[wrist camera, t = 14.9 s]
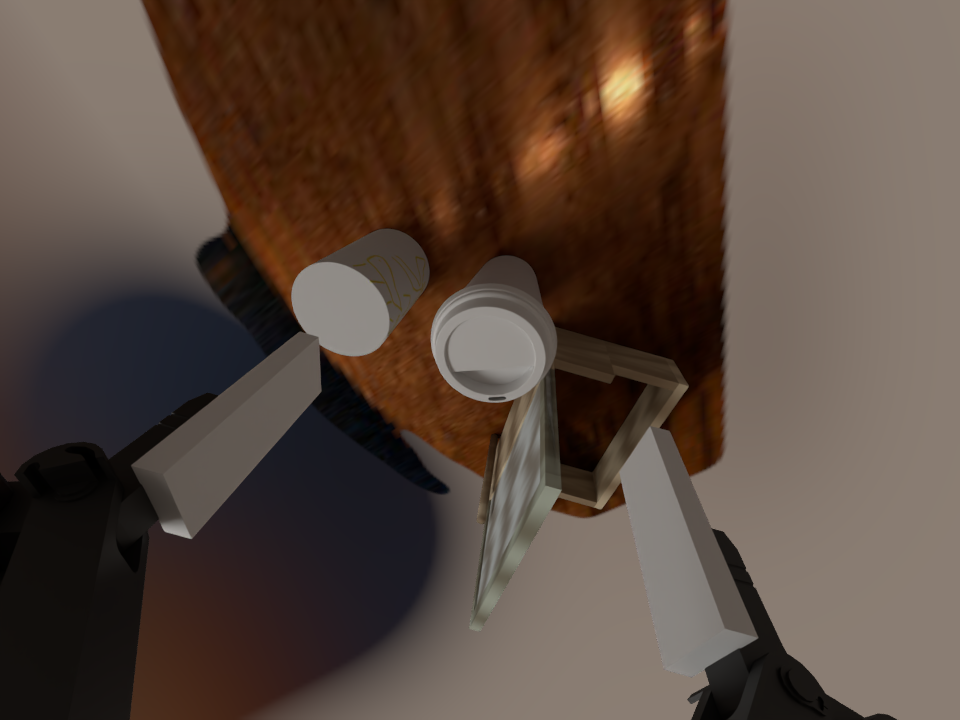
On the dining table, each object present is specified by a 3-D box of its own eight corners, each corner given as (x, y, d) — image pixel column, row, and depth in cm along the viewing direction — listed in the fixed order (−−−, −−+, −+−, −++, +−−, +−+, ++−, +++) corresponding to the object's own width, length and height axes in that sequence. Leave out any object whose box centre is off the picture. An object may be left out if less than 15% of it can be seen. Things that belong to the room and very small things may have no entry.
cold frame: (532, 320, 39) (523, 479, 21) (673, 360, 39) (791, 554, 21) (486, 447, 51) (455, 624, 32) (596, 478, 51) (628, 673, 32)
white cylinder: (432, 304, 40) (395, 359, 30) (364, 301, 41) (307, 353, 31) (425, 229, 36) (380, 263, 26) (350, 228, 37) (278, 260, 27)
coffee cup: (455, 314, 40) (416, 393, 28) (471, 229, 35) (432, 278, 22) (537, 335, 40) (535, 424, 27) (565, 252, 35) (578, 315, 22)
